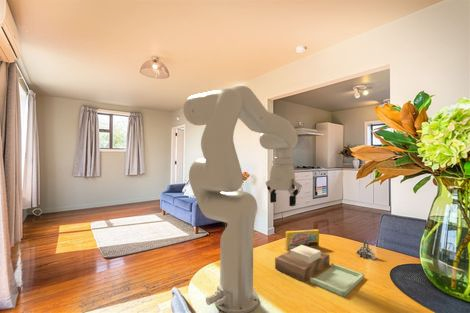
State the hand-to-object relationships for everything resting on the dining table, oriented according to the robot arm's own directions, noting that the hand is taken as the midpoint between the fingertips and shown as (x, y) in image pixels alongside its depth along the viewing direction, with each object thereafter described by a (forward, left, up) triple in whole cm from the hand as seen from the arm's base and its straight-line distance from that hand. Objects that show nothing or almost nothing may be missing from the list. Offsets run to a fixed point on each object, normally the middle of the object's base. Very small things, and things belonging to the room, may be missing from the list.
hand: (282, 203), depth 93 cm
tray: (0, -23, -22) cm, 32 cm away
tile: (0, -11, -18) cm, 21 cm away
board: (0, -10, -22) cm, 24 cm away
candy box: (+16, 0, -23) cm, 27 cm away
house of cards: (+25, -21, -23) cm, 40 cm away
